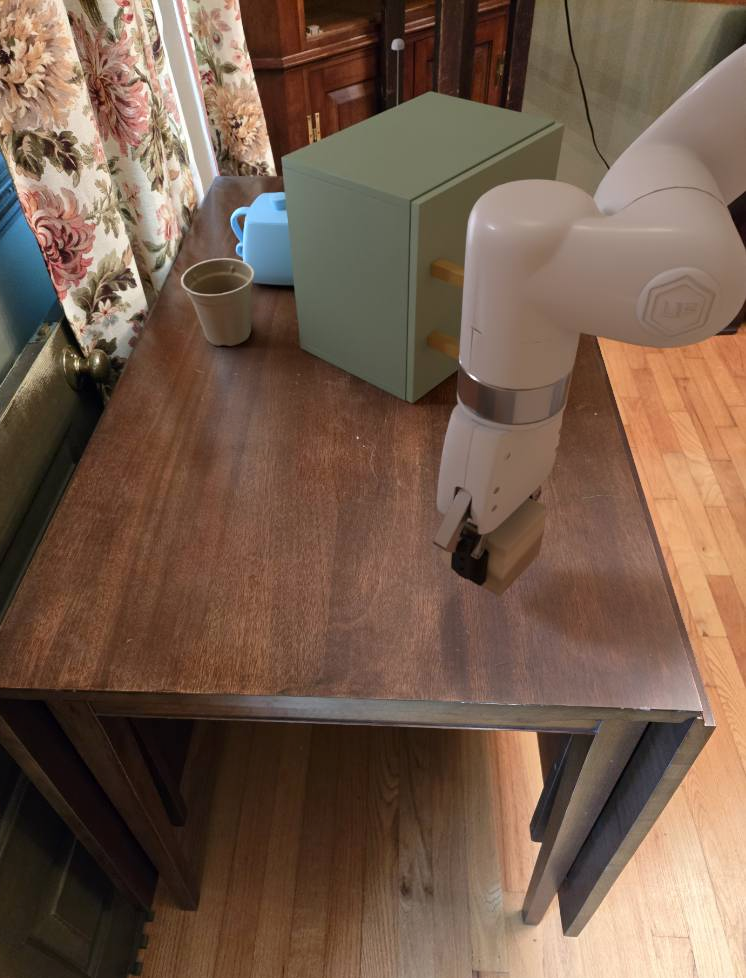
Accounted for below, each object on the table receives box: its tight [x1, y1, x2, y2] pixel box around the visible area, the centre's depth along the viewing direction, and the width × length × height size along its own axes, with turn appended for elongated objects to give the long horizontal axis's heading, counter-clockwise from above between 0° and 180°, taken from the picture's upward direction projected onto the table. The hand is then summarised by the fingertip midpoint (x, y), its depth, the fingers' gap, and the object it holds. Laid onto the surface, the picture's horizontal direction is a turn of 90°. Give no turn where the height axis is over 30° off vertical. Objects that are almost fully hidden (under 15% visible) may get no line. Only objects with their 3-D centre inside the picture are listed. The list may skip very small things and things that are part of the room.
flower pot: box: [180, 257, 254, 347], centre depth 96 cm, size 9×9×9 cm
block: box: [442, 497, 549, 598], centre depth 61 cm, size 6×6×6 cm
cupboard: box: [281, 91, 556, 402], centre depth 89 cm, size 18×26×24 cm
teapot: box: [230, 191, 294, 286], centre depth 106 cm, size 12×18×12 cm
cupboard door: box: [406, 122, 566, 404], centre depth 83 cm, size 6×26×24 cm, turn 137°
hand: (491, 551), depth 63 cm, fingers closed on block, 6 cm apart
